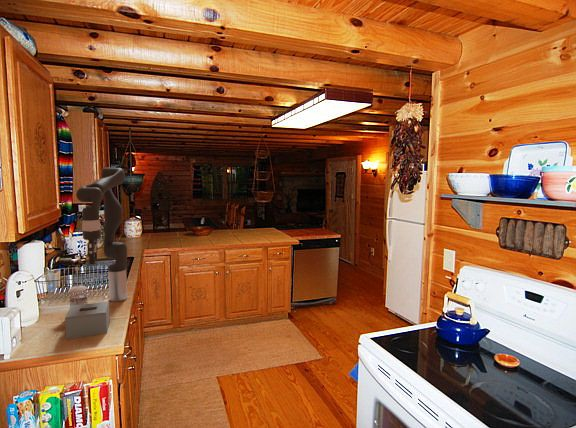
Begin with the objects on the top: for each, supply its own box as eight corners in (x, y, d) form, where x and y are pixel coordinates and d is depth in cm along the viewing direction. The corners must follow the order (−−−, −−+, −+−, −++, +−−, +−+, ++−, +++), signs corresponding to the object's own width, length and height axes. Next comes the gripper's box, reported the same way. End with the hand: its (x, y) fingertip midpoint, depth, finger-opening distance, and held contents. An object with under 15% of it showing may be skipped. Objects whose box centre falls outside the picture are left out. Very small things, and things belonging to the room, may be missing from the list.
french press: (91, 309, 184) (89, 264, 181) (88, 318, 174) (85, 270, 171) (70, 312, 181) (67, 265, 177) (65, 321, 170) (62, 272, 167)
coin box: (72, 325, 166) (71, 305, 165) (109, 320, 172) (108, 301, 171) (66, 338, 153) (65, 317, 152) (107, 333, 159) (105, 312, 158)
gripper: (84, 226, 171) (86, 258, 173) (80, 232, 157) (82, 266, 160) (102, 226, 173) (103, 257, 176) (98, 231, 160) (100, 265, 163)
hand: (93, 261), depth 168 cm, fingers open, 8 cm apart
